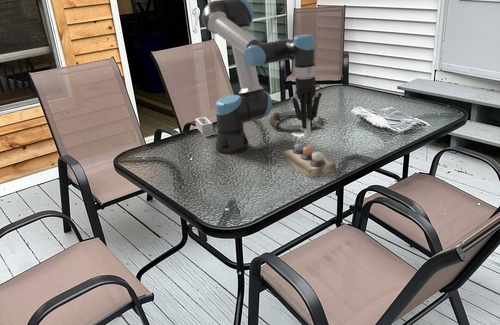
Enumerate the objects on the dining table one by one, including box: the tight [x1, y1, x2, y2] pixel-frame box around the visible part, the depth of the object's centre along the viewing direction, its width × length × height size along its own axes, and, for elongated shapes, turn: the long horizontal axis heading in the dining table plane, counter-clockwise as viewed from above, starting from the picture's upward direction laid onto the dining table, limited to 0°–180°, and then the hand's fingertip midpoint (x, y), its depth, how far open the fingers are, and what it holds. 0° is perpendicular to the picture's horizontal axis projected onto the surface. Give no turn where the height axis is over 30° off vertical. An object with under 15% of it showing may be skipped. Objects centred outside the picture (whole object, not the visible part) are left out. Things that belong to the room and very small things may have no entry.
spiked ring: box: [268, 110, 328, 132], centre depth 230 cm, size 33×4×30 cm
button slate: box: [294, 142, 306, 151], centre depth 188 cm, size 4×4×2 cm
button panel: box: [282, 147, 337, 178], centre depth 182 cm, size 12×22×4 cm, turn 22°
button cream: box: [312, 151, 324, 161], centre depth 174 cm, size 4×4×2 cm
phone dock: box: [194, 116, 214, 135], centre depth 227 cm, size 5×12×6 cm, turn 22°
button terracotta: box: [303, 145, 315, 155], centre depth 181 cm, size 4×4×2 cm
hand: (307, 135), depth 179 cm, fingers closed
